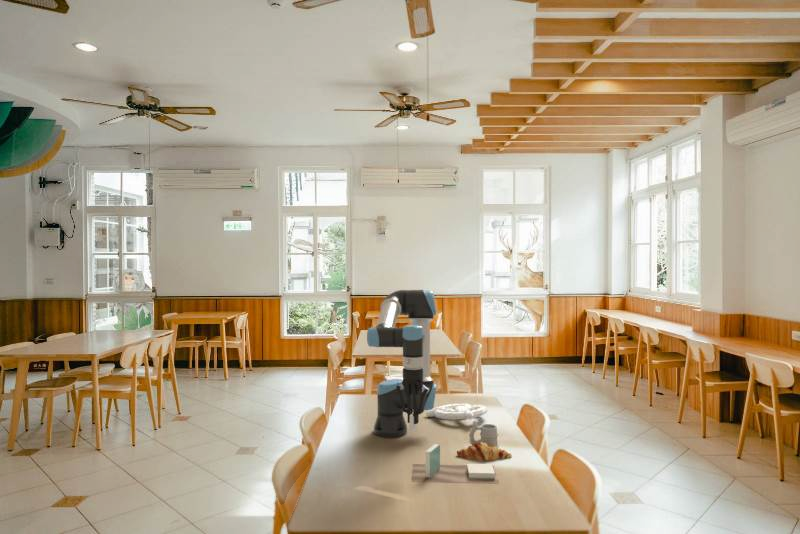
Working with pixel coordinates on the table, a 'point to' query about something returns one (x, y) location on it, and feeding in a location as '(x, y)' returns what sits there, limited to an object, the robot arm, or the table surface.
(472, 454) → the croissant
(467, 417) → the white flat coiled piece
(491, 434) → the mug
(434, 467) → the tile
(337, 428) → the table surface
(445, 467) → the board
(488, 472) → the tile
